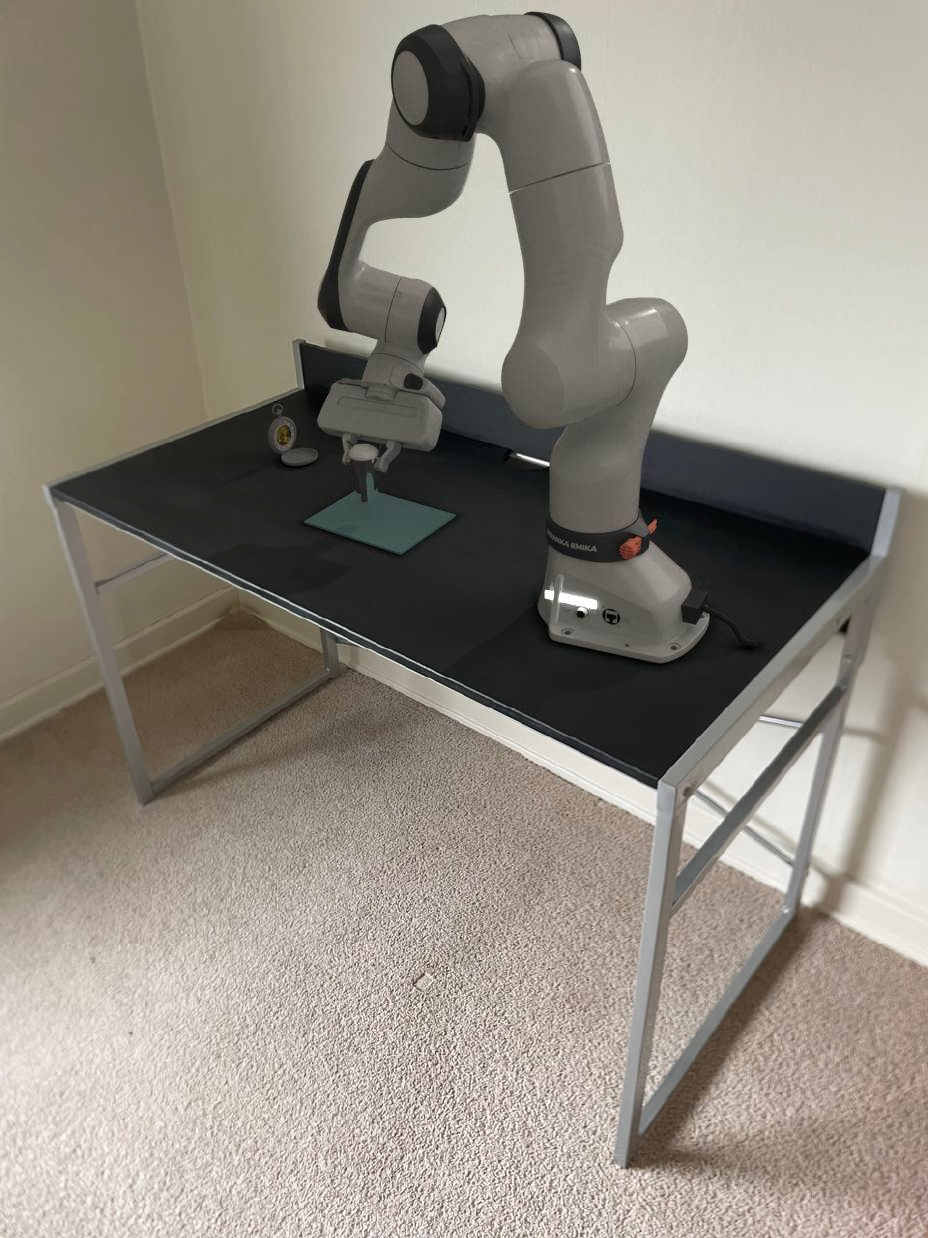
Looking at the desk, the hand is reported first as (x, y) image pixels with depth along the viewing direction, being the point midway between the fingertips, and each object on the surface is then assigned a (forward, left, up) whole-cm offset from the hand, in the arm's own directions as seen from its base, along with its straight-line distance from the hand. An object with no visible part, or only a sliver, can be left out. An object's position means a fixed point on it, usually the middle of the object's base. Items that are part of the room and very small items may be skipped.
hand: (363, 467), depth 141 cm
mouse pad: (-1, -1, -9) cm, 10 cm away
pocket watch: (+28, -12, -10) cm, 32 cm away
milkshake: (0, -1, -6) cm, 6 cm away
